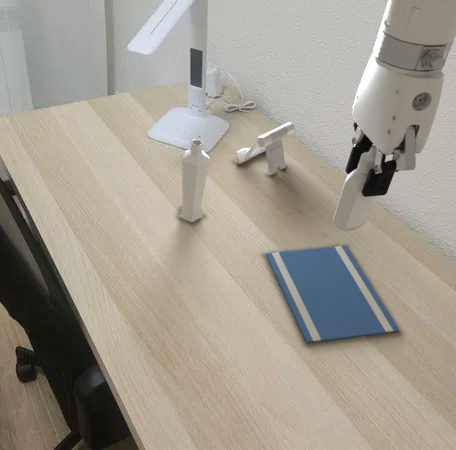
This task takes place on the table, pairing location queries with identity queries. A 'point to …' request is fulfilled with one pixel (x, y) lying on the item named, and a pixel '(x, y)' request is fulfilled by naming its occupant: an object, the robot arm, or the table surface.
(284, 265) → the towel
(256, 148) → the tablet stand
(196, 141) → the perfume bottle
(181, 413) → the table surface
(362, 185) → the eye dropper bottle
